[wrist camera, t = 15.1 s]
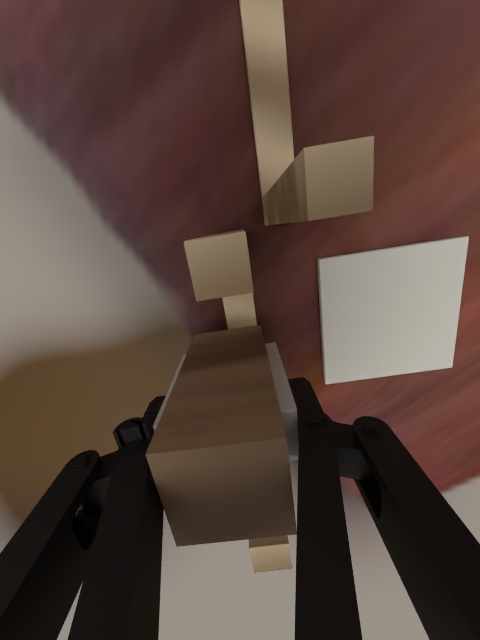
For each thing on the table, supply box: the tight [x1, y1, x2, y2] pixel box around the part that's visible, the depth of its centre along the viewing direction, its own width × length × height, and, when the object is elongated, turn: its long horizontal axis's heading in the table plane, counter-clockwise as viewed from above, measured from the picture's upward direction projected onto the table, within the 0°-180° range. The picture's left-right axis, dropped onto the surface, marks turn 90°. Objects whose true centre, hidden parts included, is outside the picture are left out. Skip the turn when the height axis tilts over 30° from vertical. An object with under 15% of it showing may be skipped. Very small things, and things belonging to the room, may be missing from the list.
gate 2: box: [239, 0, 374, 226], centre depth 11 cm, size 17×2×12 cm, turn 9°
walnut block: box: [145, 325, 297, 546], centre depth 14 cm, size 4×4×10 cm
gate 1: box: [183, 229, 292, 572], centre depth 17 cm, size 17×2×12 cm, turn 9°
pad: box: [317, 236, 469, 384], centre depth 22 cm, size 11×11×1 cm
